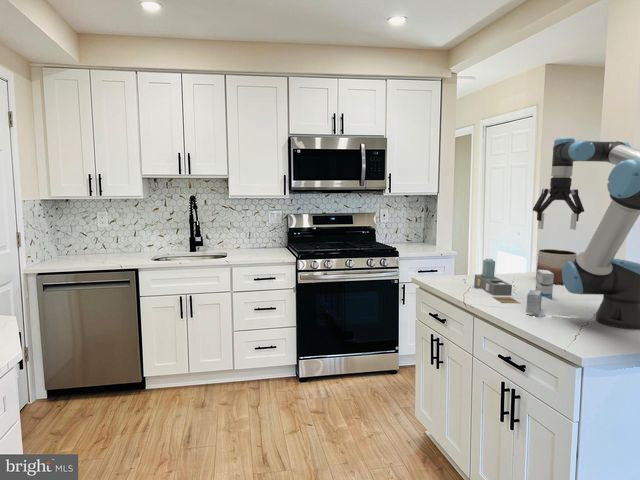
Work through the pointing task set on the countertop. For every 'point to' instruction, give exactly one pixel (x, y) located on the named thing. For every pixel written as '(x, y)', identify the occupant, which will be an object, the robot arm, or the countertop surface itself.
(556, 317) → the countertop surface
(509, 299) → the brown flat block
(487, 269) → the plug
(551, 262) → the planter
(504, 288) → the socket strip
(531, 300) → the medicine box
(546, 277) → the ink box
